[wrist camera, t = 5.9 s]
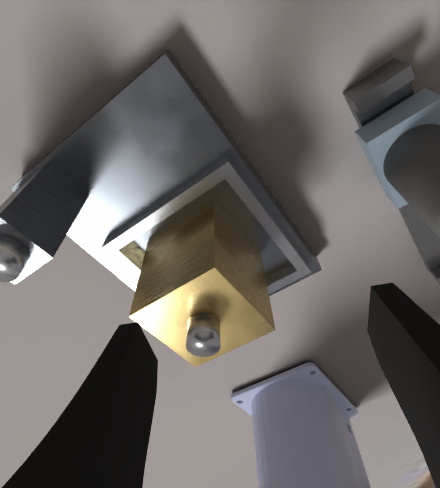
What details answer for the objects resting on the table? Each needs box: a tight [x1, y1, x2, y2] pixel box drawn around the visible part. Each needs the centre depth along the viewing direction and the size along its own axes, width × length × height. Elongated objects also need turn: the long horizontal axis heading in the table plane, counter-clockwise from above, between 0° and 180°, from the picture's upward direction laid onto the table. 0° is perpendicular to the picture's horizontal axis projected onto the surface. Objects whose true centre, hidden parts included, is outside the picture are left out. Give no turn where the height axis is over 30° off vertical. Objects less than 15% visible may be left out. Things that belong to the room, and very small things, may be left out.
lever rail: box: [343, 58, 440, 284], centre depth 18 cm, size 13×2×2 cm, turn 36°
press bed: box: [0, 50, 322, 296], centre depth 17 cm, size 14×10×7 cm
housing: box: [129, 198, 275, 367], centre depth 17 cm, size 4×4×7 cm
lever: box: [355, 88, 440, 238], centre depth 14 cm, size 4×3×6 cm
